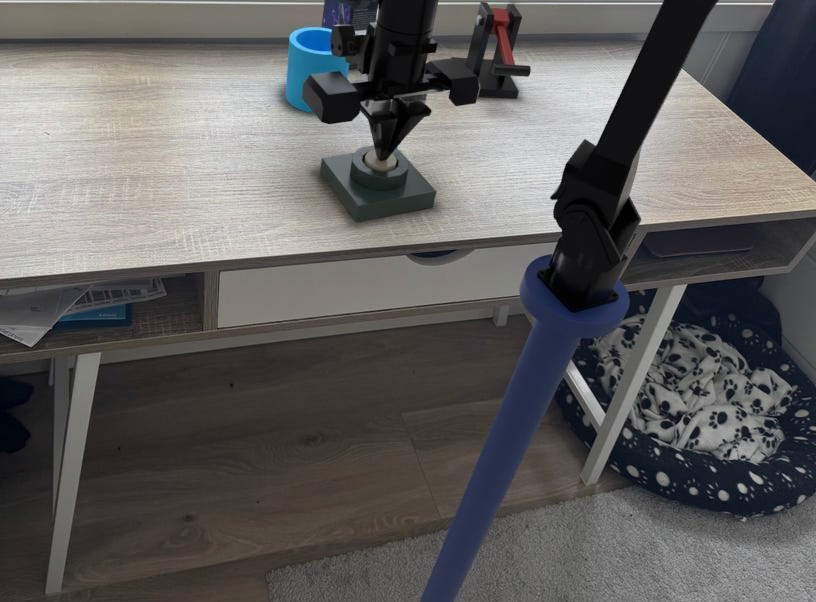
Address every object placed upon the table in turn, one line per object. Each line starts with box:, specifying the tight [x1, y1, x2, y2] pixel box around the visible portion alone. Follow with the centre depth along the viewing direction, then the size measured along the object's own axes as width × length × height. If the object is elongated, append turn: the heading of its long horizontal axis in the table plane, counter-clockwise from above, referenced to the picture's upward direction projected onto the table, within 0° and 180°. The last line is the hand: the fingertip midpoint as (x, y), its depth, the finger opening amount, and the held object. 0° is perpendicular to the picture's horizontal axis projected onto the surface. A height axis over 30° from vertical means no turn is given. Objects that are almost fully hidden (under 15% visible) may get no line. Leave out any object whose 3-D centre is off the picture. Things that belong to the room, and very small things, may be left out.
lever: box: [489, 7, 532, 78], centre depth 101 cm, size 12×5×2 cm, turn 6°
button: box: [364, 150, 397, 172], centre depth 84 cm, size 4×4×2 cm
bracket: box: [451, 1, 523, 99], centre depth 106 cm, size 10×8×11 cm
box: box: [320, 0, 379, 69], centre depth 108 cm, size 8×6×11 cm
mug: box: [285, 26, 350, 114], centre depth 99 cm, size 12×8×8 cm
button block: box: [319, 144, 437, 223], centre depth 85 cm, size 10×10×4 cm
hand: (381, 158), depth 83 cm, fingers closed, pressing on button
